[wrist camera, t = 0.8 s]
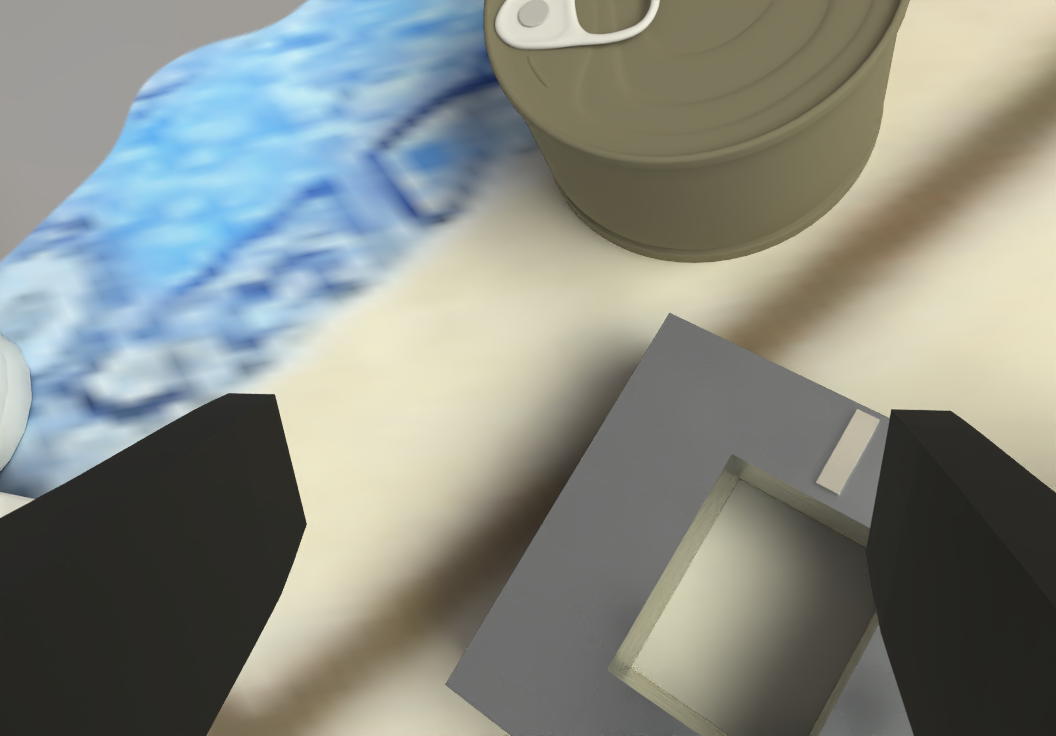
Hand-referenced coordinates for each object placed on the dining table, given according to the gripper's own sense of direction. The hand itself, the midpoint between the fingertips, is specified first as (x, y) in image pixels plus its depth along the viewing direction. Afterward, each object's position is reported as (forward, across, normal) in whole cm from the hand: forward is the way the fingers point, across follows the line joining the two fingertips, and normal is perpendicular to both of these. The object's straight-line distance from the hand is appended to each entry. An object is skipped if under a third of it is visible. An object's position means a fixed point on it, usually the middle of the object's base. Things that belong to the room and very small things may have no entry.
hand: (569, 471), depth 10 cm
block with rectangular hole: (+10, -4, +13) cm, 17 cm away
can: (+23, -3, +2) cm, 23 cm away
